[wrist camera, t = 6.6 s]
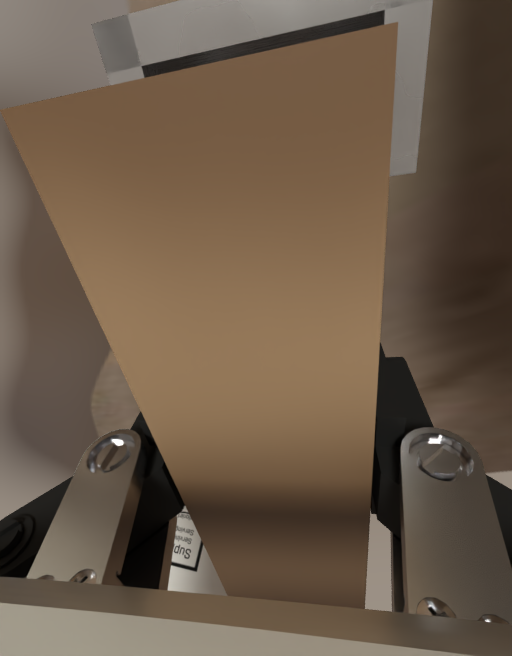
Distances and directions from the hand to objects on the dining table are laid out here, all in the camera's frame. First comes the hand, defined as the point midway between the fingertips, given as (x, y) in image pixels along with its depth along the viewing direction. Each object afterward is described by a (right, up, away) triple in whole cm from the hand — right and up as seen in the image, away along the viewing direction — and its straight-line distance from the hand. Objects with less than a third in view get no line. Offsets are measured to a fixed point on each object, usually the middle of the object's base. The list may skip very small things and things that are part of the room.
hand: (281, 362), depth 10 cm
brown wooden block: (0, 0, +1) cm, 1 cm away
